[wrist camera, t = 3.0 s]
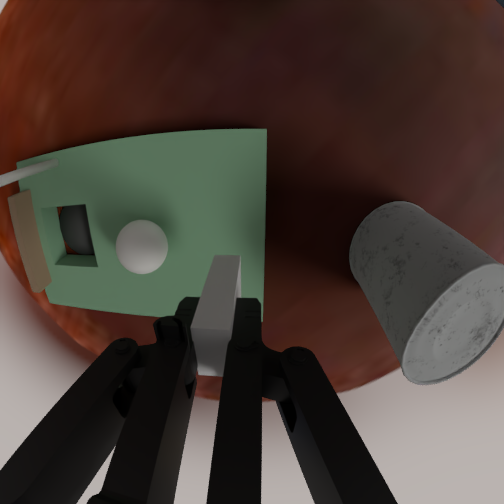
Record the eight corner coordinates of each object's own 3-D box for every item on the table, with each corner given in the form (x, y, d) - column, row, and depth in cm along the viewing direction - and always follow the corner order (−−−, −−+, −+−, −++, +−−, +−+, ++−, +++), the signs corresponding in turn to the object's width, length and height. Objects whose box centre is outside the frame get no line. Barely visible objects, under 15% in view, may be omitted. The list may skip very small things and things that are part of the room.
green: (32, 158, 20) (-94, 209, 5) (265, 129, 20) (282, 120, 5) (60, 291, 27) (-18, 385, 12) (262, 305, 26) (261, 472, 11)
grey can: (373, 308, 26) (417, 401, 15) (330, 239, 23) (380, 334, 12) (444, 258, 24) (514, 329, 13) (414, 181, 21) (511, 230, 10)
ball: (125, 213, 20) (101, 231, 17) (171, 212, 20) (153, 230, 17) (133, 258, 22) (112, 282, 18) (176, 259, 22) (161, 285, 18)
